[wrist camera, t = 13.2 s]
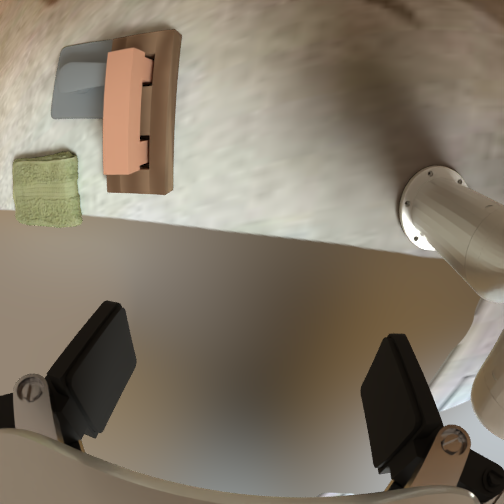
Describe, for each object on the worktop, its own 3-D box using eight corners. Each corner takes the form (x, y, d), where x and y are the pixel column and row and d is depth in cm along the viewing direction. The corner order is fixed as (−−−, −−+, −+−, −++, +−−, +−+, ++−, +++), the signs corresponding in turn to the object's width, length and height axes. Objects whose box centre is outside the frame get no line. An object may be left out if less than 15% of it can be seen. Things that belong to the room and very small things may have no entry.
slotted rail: (181, 35, 30) (174, 29, 27) (173, 189, 39) (165, 194, 36) (123, 43, 30) (112, 39, 27) (117, 187, 39) (107, 192, 37)
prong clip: (160, 59, 31) (133, 47, 24) (155, 164, 37) (128, 174, 30) (137, 62, 31) (108, 52, 24) (133, 164, 38) (103, 174, 30)
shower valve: (106, 120, 30) (31, 121, 31) (126, 119, 35) (53, 118, 35) (123, 29, 25) (43, 44, 25) (141, 38, 30) (64, 48, 30)
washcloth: (16, 157, 39) (4, 160, 36) (81, 149, 38) (69, 152, 35) (24, 222, 44) (13, 228, 41) (87, 227, 43) (77, 234, 40)
